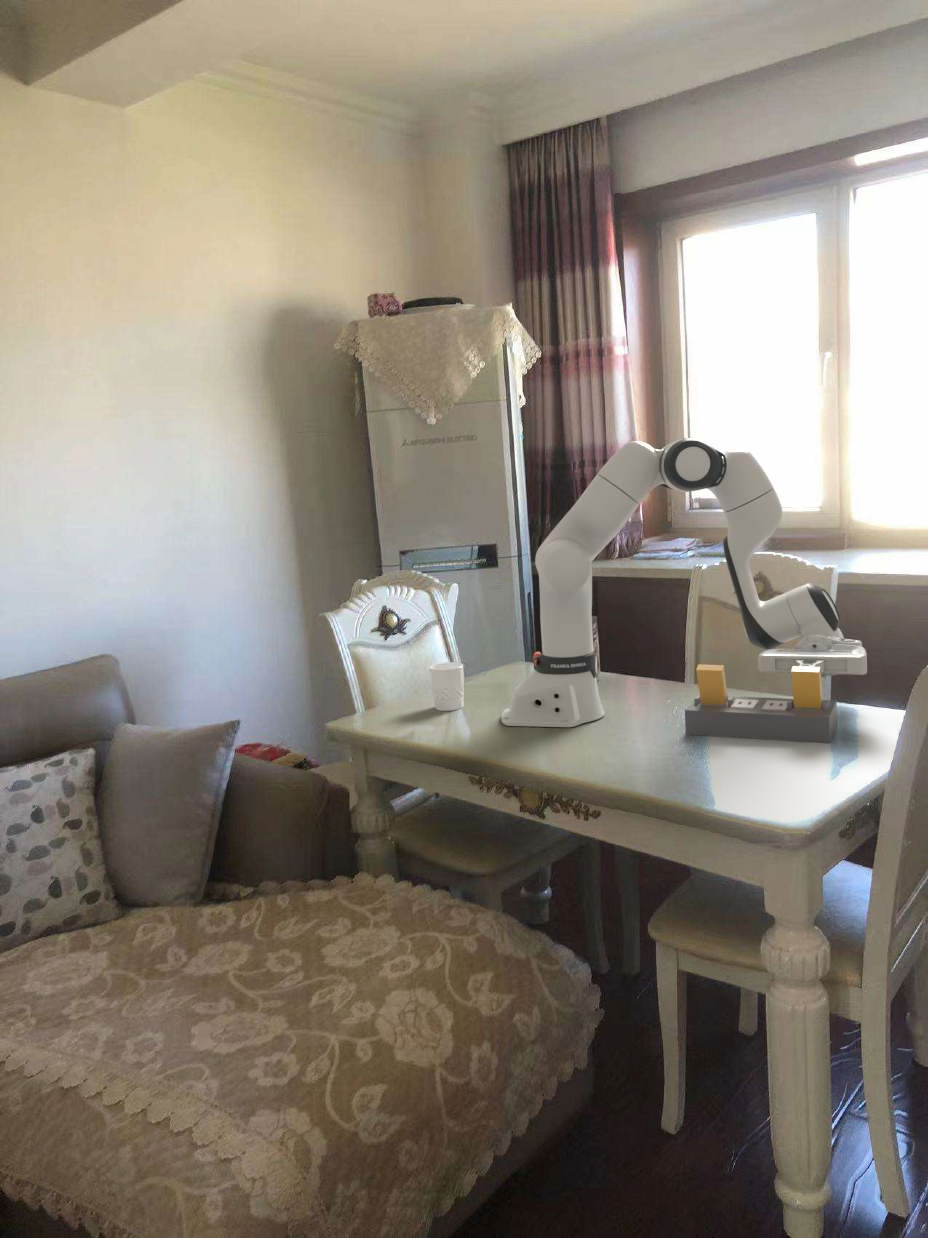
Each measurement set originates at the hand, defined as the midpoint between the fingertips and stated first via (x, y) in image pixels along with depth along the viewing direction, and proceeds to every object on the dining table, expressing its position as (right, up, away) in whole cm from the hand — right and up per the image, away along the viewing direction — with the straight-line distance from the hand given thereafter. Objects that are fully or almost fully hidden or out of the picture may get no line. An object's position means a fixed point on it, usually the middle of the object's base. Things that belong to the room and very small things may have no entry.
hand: (807, 670), depth 189 cm
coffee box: (-35, -6, +57) cm, 67 cm away
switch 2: (+1, -7, +2) cm, 7 cm away
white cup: (-69, -11, +43) cm, 82 cm away
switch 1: (-15, -7, +10) cm, 19 cm away
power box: (-7, -12, +7) cm, 16 cm away
